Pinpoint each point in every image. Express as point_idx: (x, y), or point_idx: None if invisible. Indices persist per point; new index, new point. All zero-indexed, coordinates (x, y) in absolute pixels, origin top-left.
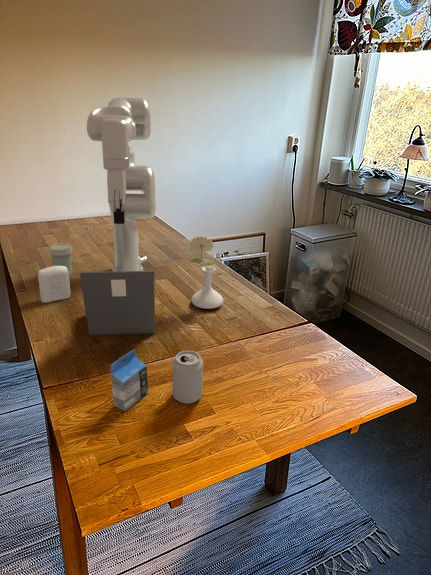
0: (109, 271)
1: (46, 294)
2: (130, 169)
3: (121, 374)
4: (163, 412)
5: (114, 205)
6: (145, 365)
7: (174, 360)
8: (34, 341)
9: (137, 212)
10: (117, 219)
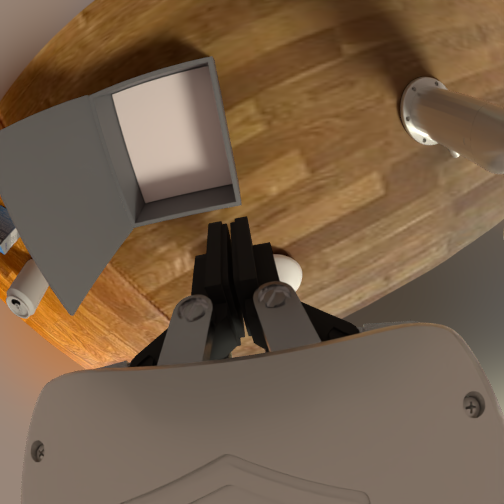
0: (13, 218)
1: None
2: None
3: None
4: (12, 252)
5: (163, 362)
6: (4, 253)
7: (11, 291)
8: (82, 10)
9: None
10: (196, 269)
